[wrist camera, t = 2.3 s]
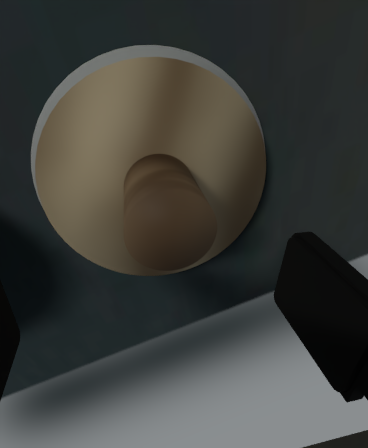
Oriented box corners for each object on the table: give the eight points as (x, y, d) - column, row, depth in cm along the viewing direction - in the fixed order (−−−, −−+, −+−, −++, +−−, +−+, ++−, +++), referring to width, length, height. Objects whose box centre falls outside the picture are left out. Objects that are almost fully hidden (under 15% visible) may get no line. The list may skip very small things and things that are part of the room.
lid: (276, 62, 15) (358, 63, 10) (242, 257, 22) (281, 321, 16) (12, 50, 13) (-66, 44, 8) (63, 272, 19) (41, 353, 14)
